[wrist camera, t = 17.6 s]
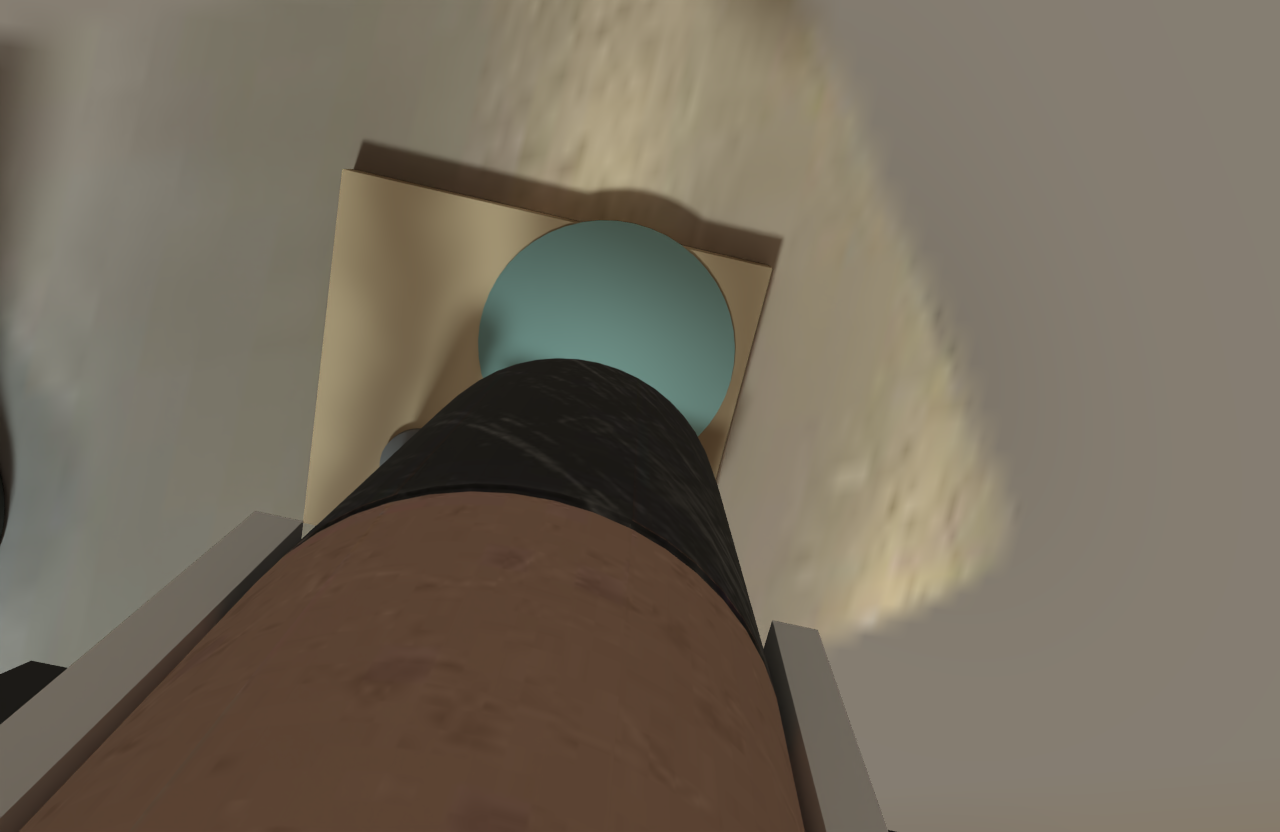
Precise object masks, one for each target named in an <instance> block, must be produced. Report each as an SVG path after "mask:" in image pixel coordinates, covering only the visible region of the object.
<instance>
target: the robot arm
mask: <svg viewBox="0 0 1280 832" xmlns="http://www.w3.org/2000/svg"><path fill="white" fill-rule="evenodd" d="M3 521H4V493H3V485H2V480H1V476H0V538H1V533H2V529H3ZM302 527H303V521H300V520H296V519H291V518H286V517H281V516H277V515H272V514H267V513H263V512H258V511H255V512H253V513H252V514H251V515H250V516H249V517H247V518H246V519H245V520H244V521H243V522H242V523H240V524H239V525H238V526H237V527H236V528H234V529H233V530H232V531H231V532H230V533H228V534H227V535H226V536H225V537H224V538H222V539H221V540H220V541H219V542H218V543H216V544H215V545H214V546H213V547H212V548H210V549H209V550H208V551H207V552H206V553H205V554H203V555H202V556H201V557H200V558H199V559H197V560H196V561H195V562H194V563H193V564H191V565H190V566H189V567H188V568H187V569H185V570H184V571H183V572H182V573H181V574H179V575H178V576H177V577H176V578H175V579H174V580H172V581H171V582H170V583H169V584H168V585H166V586H165V587H164V588H163V589H162V590H160V591H159V592H158V593H157V594H156V595H154V596H153V597H152V598H151V599H150V600H148V601H147V602H146V603H145V604H144V605H142V606H141V607H140V608H139V609H138V610H137V611H135V612H134V613H133V614H132V615H131V616H129V617H128V618H127V619H126V620H125V621H123V622H122V623H121V624H120V625H119V626H117V627H116V628H115V629H114V630H113V631H111V632H110V633H109V634H108V635H107V636H105V637H104V638H103V639H102V640H101V641H100V642H98V643H97V644H96V645H95V646H94V647H92V648H91V649H90V650H89V651H88V652H86V653H85V654H84V655H83V656H82V657H80V658H79V659H78V660H77V661H76V662H74V663H73V664H72V665H71V666H70V667H69V668H65V667H60V666H55V665H50V664H45V663H40V662H35V661H30V662H27V663H25V664H23V665H20V666H18V667H16V668H13V669H11V670H9V671H7V672H4V673H2V674H0V832H19V831H20V830H21V829H22V827H23V826H24V825H25V824H26V823H27V822H28V821H29V820H30V819H31V818H32V817H33V816H34V815H35V814H36V813H37V812H38V811H39V810H40V809H41V808H42V806H43V805H44V804H45V803H46V802H47V801H48V800H49V799H50V798H51V797H52V796H53V795H54V794H55V793H56V792H57V791H58V790H59V789H60V788H61V787H62V786H63V784H64V783H65V782H66V781H67V780H68V779H69V778H70V777H71V776H72V775H73V774H74V773H75V772H76V771H77V770H78V769H79V768H80V767H81V766H82V765H83V763H84V762H85V761H86V760H87V759H88V758H89V757H90V756H91V755H92V754H93V753H94V752H95V751H96V750H97V749H98V748H99V747H100V746H101V745H102V744H103V743H104V741H105V740H106V739H107V738H108V737H109V736H110V735H111V734H112V733H113V732H114V731H115V730H116V729H117V728H118V727H119V726H120V725H121V724H122V723H123V722H124V720H125V719H126V718H127V717H128V716H129V715H130V714H131V713H132V712H133V711H134V710H135V709H136V708H137V707H138V706H139V705H140V704H141V703H142V702H143V701H144V700H145V698H146V697H147V696H148V695H149V694H150V693H151V692H152V691H153V690H154V689H155V688H156V687H157V686H158V685H159V684H160V683H161V682H162V681H163V680H164V679H165V677H166V676H167V675H168V674H169V673H170V672H171V671H172V670H173V669H174V668H175V667H176V666H177V665H178V664H179V663H180V662H181V661H182V660H183V659H184V658H185V656H186V655H187V654H188V653H189V652H190V651H191V650H192V649H193V648H194V647H195V646H196V645H197V644H198V643H199V642H200V641H201V640H202V639H203V638H204V637H205V636H206V634H207V633H208V632H209V631H210V630H211V629H212V628H213V627H214V626H215V625H216V624H217V623H218V622H219V621H220V620H221V619H222V618H223V617H224V616H225V615H226V613H227V612H228V611H229V610H230V609H231V608H232V607H233V606H234V605H235V604H236V603H237V602H238V601H239V600H240V599H241V598H242V597H243V596H244V595H245V594H246V593H247V591H248V590H249V589H250V588H251V587H252V586H253V585H254V584H255V583H256V582H257V581H258V580H259V579H260V578H261V577H262V576H263V575H264V574H265V573H266V572H268V571H269V570H270V569H271V568H272V567H273V566H274V565H275V564H276V563H277V562H278V561H279V560H280V559H281V558H282V557H283V556H284V555H285V554H286V553H287V552H288V551H290V550H291V549H292V548H293V547H294V546H295V545H296V544H297V543H298V542H299V541H300V540H301V536H302ZM763 650H764V653H765V657H766V660H767V664H768V667H769V671H770V675H771V678H772V683H773V688H774V692H775V695H776V697H777V702H778V707H779V712H780V716H781V721H782V726H783V731H784V735H785V740H786V745H787V749H788V754H789V759H790V764H791V768H792V773H793V778H794V783H795V787H796V792H797V797H798V801H799V806H800V811H801V816H802V820H803V825H804V830H805V832H895V831H890V830H887V827H886V824H885V821H884V818H883V815H882V812H881V810H880V807H879V804H878V801H877V798H876V795H875V792H874V790H873V787H872V784H871V781H870V778H869V775H868V772H867V769H866V767H865V764H864V761H863V758H862V756H861V752H860V749H859V747H858V744H857V741H856V738H855V735H854V732H853V730H852V727H851V724H850V721H849V718H848V715H847V712H846V709H845V707H844V704H843V701H842V698H841V695H840V692H839V689H838V687H837V684H836V681H835V678H834V675H833V672H832V669H831V666H830V664H829V661H828V658H827V655H826V652H825V649H824V646H823V644H822V641H821V638H820V635H819V632H818V630H816V629H811V628H806V627H802V626H797V625H792V624H787V623H783V622H778V621H773V620H772V623H771V627H770V630H769V633H768V636H767V640H766V643H765V646H764V649H763Z"/></svg>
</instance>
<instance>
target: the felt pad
mask: <svg viewBox="0 0 1280 832" xmlns="http://www.w3.org/2000/svg"><path fill="white" fill-rule="evenodd" d="M478 352H479V362H480V368H481V374H482V377H483V378H484V377H486V376H488V375H490V374H492V373H494V372H496V371H498V370H501V369H504V368H507V367H510V366H512V365H515V364H519V363H524V362H528V361H533V360H540V359H552V358H565V359H580V360H586V361H591V362H597V363H601V364H604V365H607V366H610V367H614V368H617V369H619V370H622V371H624V372H626V373H628V374H630V375H633V376H635V377H637V378H639V379H640V380H642V381H643V382H645V383H647V384H648V385H650V386H651V387H653V388H655V389H656V390H657V391H658V392H659V393H661V394H662V395H663V396H664V397H666V398H667V399H668V400H669V401H670V402H671V403H672V404H673V405H674V406H675V407H676V408H677V409H678V410H679V411H680V412H681V413H682V414H683V416H684V417H685V418H686V420H687V421H688V422H689V424H690V425H691V427H692V428H693V429H694V431H695V432H696V434H697V436H699V435H700V434H701V433H702V432H703V430H704V429H705V428H706V427H707V426H708V425H709V424H710V422H711V421H712V419H713V418H714V416H715V415H716V413H717V412H718V410H719V408H720V406H721V404H722V402H723V400H724V398H725V396H726V393H727V390H728V387H729V384H730V381H731V377H732V372H733V367H734V355H735V342H734V330H733V326H732V321H731V316H730V313H729V310H728V307H727V304H726V302H725V299H724V297H723V295H722V293H721V291H720V289H719V287H718V285H717V283H716V282H715V280H714V279H713V278H712V276H711V275H710V273H709V272H708V270H707V269H706V268H705V267H704V266H703V265H702V264H701V262H700V261H699V260H698V259H697V258H696V257H695V256H694V255H693V254H691V253H690V252H689V251H688V250H687V249H685V248H684V247H683V246H682V245H681V244H679V243H677V242H676V241H674V240H673V239H671V238H669V237H668V236H666V235H664V234H662V233H659V232H657V231H655V230H653V229H650V228H647V227H644V226H641V225H637V224H634V223H628V222H622V221H608V220H597V221H588V222H581V223H577V224H573V225H569V226H565V227H562V228H560V229H557V230H555V231H552V232H550V233H548V234H546V235H544V236H543V237H541V238H539V239H537V240H535V241H534V242H532V243H531V244H530V245H528V246H527V247H526V248H525V249H523V250H522V251H521V252H519V253H518V254H517V255H516V256H515V257H514V259H513V260H512V261H511V262H510V263H509V264H508V265H507V266H506V267H505V269H504V270H503V271H502V273H501V274H500V275H499V277H498V278H497V280H496V282H495V284H494V285H493V287H492V289H491V291H490V293H489V295H488V298H487V300H486V303H485V306H484V308H483V313H482V317H481V321H480V327H479V337H478Z"/></svg>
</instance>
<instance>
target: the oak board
mask: <svg viewBox="0 0 1280 832" xmlns="http://www.w3.org/2000/svg"><path fill="white" fill-rule="evenodd" d="M577 223H581V222H579V221H575V220H571V219H566V218H562V217H558V216H553V215H549V214H545V213H540V212H536V211H532V210H527V209H523V208H519V207H514V206H510V205H506V204H501V203H497V202H493V201H488V200H484V199H480V198H475V197H471V196H467V195H462V194H458V193H454V192H449V191H445V190H441V189H436V188H432V187H428V186H423V185H419V184H415V183H411V182H406V181H402V180H398V179H393V178H389V177H385V176H380V175H376V174H372V173H367V172H363V171H359V170H354V169H342V177H341V186H340V195H339V204H338V213H337V222H336V231H335V240H334V249H333V258H332V267H331V276H330V285H329V294H328V303H327V312H326V321H325V330H324V339H323V348H322V357H321V366H320V375H319V384H318V393H317V402H316V411H315V420H314V429H313V438H312V447H311V456H310V465H309V474H308V483H307V492H306V501H305V510H304V519H303V523H308V524H312V525H317V524H319V523H320V522H321V521H322V520H323V519H324V518H325V517H326V516H327V515H328V514H329V513H330V512H331V511H333V510H334V509H335V508H336V507H337V506H338V505H339V504H340V503H341V502H342V501H343V500H344V499H346V498H347V497H348V496H349V495H350V494H351V493H352V492H353V491H354V490H355V489H356V488H357V487H358V486H360V485H361V484H362V483H363V482H364V481H365V480H366V479H367V478H368V477H369V476H370V475H371V474H372V473H374V472H375V471H376V470H377V469H378V468H379V467H380V466H381V465H382V464H383V463H384V462H385V461H386V460H388V459H389V458H390V457H391V456H392V455H393V454H394V453H395V452H396V451H397V450H398V449H399V448H401V447H402V446H403V445H404V444H405V443H406V442H407V441H408V440H409V439H410V438H411V437H412V436H413V435H415V434H416V433H417V432H418V431H419V430H420V429H421V428H422V427H423V426H424V425H425V424H426V423H427V422H429V421H430V420H431V419H432V418H433V417H434V416H435V415H436V414H437V413H438V412H439V411H440V410H441V409H443V408H444V407H445V406H446V405H447V404H448V403H450V402H451V401H452V400H453V399H454V398H455V397H456V396H458V395H459V394H460V393H462V392H463V391H465V390H466V389H467V388H469V387H470V386H472V385H473V384H474V383H476V382H477V381H479V380H481V379H483V377H482V374H481V368H480V362H479V352H478V337H479V327H480V321H481V317H482V313H483V308H484V306H485V303H486V300H487V298H488V295H489V293H490V291H491V289H492V287H493V285H494V284H495V282H496V280H497V278H498V277H499V275H500V274H501V273H502V271H503V270H504V269H505V267H506V266H507V265H508V264H509V263H510V262H511V261H512V260H513V259H514V257H515V256H516V255H517V254H518V253H519V252H521V251H522V250H523V249H525V248H526V247H527V246H528V245H530V244H531V243H532V242H534V241H535V240H537V239H539V238H541V237H543V236H544V235H546V234H548V233H550V232H552V231H555V230H557V229H560V228H562V227H565V226H569V225H573V224H577ZM682 246H683V245H682ZM683 247H684V248H685V249H687V250H688V251H689V252H690V253H691V254H693V255H694V256H695V257H696V258H697V259H698V260H699V261H700V262H701V264H702V265H703V266H704V267H705V268H706V269H707V270H708V272H709V273H710V275H711V276H712V278H713V279H714V280H715V282H716V283H717V285H718V287H719V289H720V291H721V293H722V295H723V297H724V299H725V302H726V304H727V307H728V310H729V313H730V316H731V321H732V326H733V330H734V342H735V355H734V367H733V372H732V377H731V381H730V384H729V387H728V390H727V393H726V396H725V398H724V400H723V402H722V404H721V406H720V408H719V410H718V412H717V413H716V415H715V416H714V418H713V419H712V421H711V422H710V424H709V425H708V426H707V427H706V428H705V429H704V430H703V432H702V433H701V434H700V435H699V436H698V438H699V440H700V442H701V444H702V446H703V448H704V450H705V452H706V454H707V457H708V459H709V462H710V465H711V468H712V471H713V473H714V477H715V480H716V476H717V472H718V469H719V465H720V461H721V457H722V454H723V450H724V446H725V443H726V439H727V435H728V432H729V428H730V424H731V420H732V417H733V413H734V409H735V406H736V402H737V398H738V395H739V391H740V387H741V383H742V380H743V376H744V372H745V369H746V365H747V361H748V358H749V354H750V350H751V346H752V343H753V339H754V335H755V332H756V328H757V324H758V321H759V317H760V313H761V309H762V306H763V302H764V298H765V295H766V291H767V287H768V283H769V280H770V276H771V272H772V269H773V268H771V267H770V266H769V265H765V264H761V263H757V262H752V261H748V260H744V259H739V258H735V257H731V256H726V255H722V254H718V253H713V252H709V251H705V250H700V249H696V248H692V247H687V246H683Z"/></svg>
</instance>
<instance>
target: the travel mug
mask: <svg viewBox="0 0 1280 832" xmlns="http://www.w3.org/2000/svg"><path fill="white" fill-rule="evenodd" d="M19 832H805V830H804V825H803V820H802V816H801V811H800V806H799V801H798V797H797V792H796V787H795V783H794V778H793V773H792V768H791V764H790V759H789V754H788V749H787V745H786V740H785V735H784V731H783V726H782V721H781V716H780V712H779V707H778V702H777V697H776V695H775V692H774V688H773V683H772V678H771V675H770V671H769V667H768V664H767V660H766V657H765V653H764V650H763V646H762V642H761V639H760V635H759V632H758V628H757V625H756V621H755V617H754V614H753V610H752V607H751V603H750V600H749V596H748V592H747V589H746V585H745V582H744V578H743V575H742V571H741V567H740V564H739V560H738V557H737V553H736V550H735V546H734V542H733V539H732V535H731V532H730V528H729V524H728V521H727V517H726V514H725V510H724V507H723V503H722V499H721V496H720V492H719V489H718V486H717V483H716V480H715V477H714V473H713V471H712V468H711V465H710V462H709V459H708V457H707V454H706V452H705V450H704V448H703V446H702V444H701V442H700V440H699V438H698V436H697V434H696V432H695V431H694V429H693V428H692V427H691V425H690V424H689V422H688V421H687V420H686V418H685V417H684V416H683V414H682V413H681V412H680V411H679V410H678V409H677V408H676V407H675V406H674V405H673V404H672V403H671V402H670V401H669V400H668V399H667V398H666V397H664V396H663V395H662V394H661V393H659V392H658V391H657V390H656V389H655V388H653V387H651V386H650V385H648V384H647V383H645V382H643V381H642V380H640V379H639V378H637V377H635V376H633V375H630V374H628V373H626V372H624V371H622V370H619V369H617V368H614V367H610V366H607V365H604V364H601V363H597V362H591V361H586V360H580V359H565V358H552V359H540V360H533V361H528V362H524V363H519V364H515V365H512V366H510V367H507V368H504V369H501V370H498V371H496V372H494V373H492V374H490V375H488V376H486V377H484V378H483V379H481V380H479V381H477V382H476V383H474V384H473V385H472V386H470V387H469V388H467V389H466V390H465V391H463V392H462V393H460V394H459V395H458V396H456V397H455V398H454V399H453V400H452V401H451V402H450V403H448V404H447V405H446V406H445V407H444V408H443V409H441V410H440V411H439V412H438V413H437V414H436V415H435V416H434V417H433V418H432V419H431V420H430V421H429V422H427V423H426V424H425V425H424V426H423V427H422V428H421V429H420V430H419V431H418V432H417V433H416V434H415V435H413V436H412V437H411V438H410V439H409V440H408V441H407V442H406V443H405V444H404V445H403V446H402V447H401V448H399V449H398V450H397V451H396V452H395V453H394V454H393V455H392V456H391V457H390V458H389V459H388V460H386V461H385V462H384V463H383V464H382V465H381V466H380V467H379V468H378V469H377V470H376V471H375V472H374V473H372V474H371V475H370V476H369V477H368V478H367V479H366V480H365V481H364V482H363V483H362V484H361V485H360V486H358V487H357V488H356V489H355V490H354V491H353V492H352V493H351V494H350V495H349V496H348V497H347V498H346V499H344V500H343V501H342V502H341V503H340V504H339V505H338V506H337V507H336V508H335V509H334V510H333V511H331V512H330V513H329V514H328V515H327V516H326V517H325V518H324V519H323V520H322V521H321V522H320V523H319V524H317V525H316V526H315V527H314V528H313V529H312V530H311V531H310V532H309V533H308V534H307V535H306V536H305V537H303V538H302V539H301V540H300V541H299V542H298V543H297V544H296V545H295V546H294V547H293V548H292V549H291V550H290V551H288V552H287V553H286V554H285V555H284V556H283V557H282V558H281V559H280V560H279V561H278V562H277V563H276V564H275V565H274V566H273V567H272V568H271V569H270V570H269V571H268V572H266V573H265V574H264V575H263V576H262V577H261V578H260V579H259V580H258V581H257V582H256V583H255V584H254V585H253V586H252V587H251V588H250V589H249V590H248V591H247V593H246V594H245V595H244V596H243V597H242V598H241V599H240V600H239V601H238V602H237V603H236V604H235V605H234V606H233V607H232V608H231V609H230V610H229V611H228V612H227V613H226V615H225V616H224V617H223V618H222V619H221V620H220V621H219V622H218V623H217V624H216V625H215V626H214V627H213V628H212V629H211V630H210V631H209V632H208V633H207V634H206V636H205V637H204V638H203V639H202V640H201V641H200V642H199V643H198V644H197V645H196V646H195V647H194V648H193V649H192V650H191V651H190V652H189V653H188V654H187V655H186V656H185V658H184V659H183V660H182V661H181V662H180V663H179V664H178V665H177V666H176V667H175V668H174V669H173V670H172V671H171V672H170V673H169V674H168V675H167V676H166V677H165V679H164V680H163V681H162V682H161V683H160V684H159V685H158V686H157V687H156V688H155V689H154V690H153V691H152V692H151V693H150V694H149V695H148V696H147V697H146V698H145V700H144V701H143V702H142V703H141V704H140V705H139V706H138V707H137V708H136V709H135V710H134V711H133V712H132V713H131V714H130V715H129V716H128V717H127V718H126V719H125V720H124V722H123V723H122V724H121V725H120V726H119V727H118V728H117V729H116V730H115V731H114V732H113V733H112V734H111V735H110V736H109V737H108V738H107V739H106V740H105V741H104V743H103V744H102V745H101V746H100V747H99V748H98V749H97V750H96V751H95V752H94V753H93V754H92V755H91V756H90V757H89V758H88V759H87V760H86V761H85V762H84V763H83V765H82V766H81V767H80V768H79V769H78V770H77V771H76V772H75V773H74V774H73V775H72V776H71V777H70V778H69V779H68V780H67V781H66V782H65V783H64V784H63V786H62V787H61V788H60V789H59V790H58V791H57V792H56V793H55V794H54V795H53V796H52V797H51V798H50V799H49V800H48V801H47V802H46V803H45V804H44V805H43V806H42V808H41V809H40V810H39V811H38V812H37V813H36V814H35V815H34V816H33V817H32V818H31V819H30V820H29V821H28V822H27V823H26V824H25V825H24V826H23V827H22V829H21V830H20V831H19Z"/></svg>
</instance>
